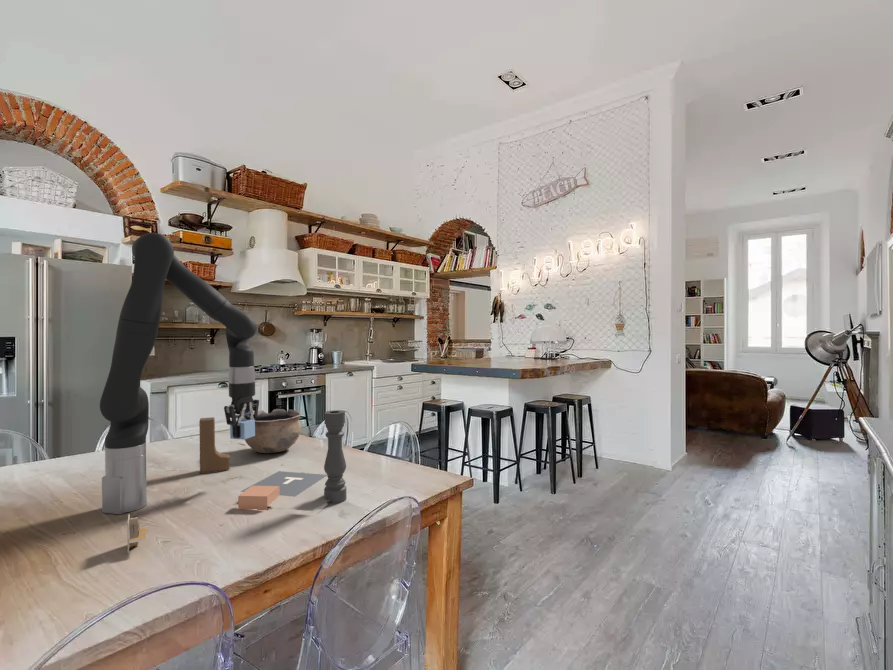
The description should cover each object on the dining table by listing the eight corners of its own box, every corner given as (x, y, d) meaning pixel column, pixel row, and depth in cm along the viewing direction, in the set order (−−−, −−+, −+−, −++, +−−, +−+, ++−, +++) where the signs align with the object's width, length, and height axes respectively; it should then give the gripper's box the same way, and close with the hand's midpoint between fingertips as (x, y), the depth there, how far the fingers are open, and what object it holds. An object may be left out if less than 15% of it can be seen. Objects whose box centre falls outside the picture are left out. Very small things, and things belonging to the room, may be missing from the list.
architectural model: (147, 542, 108) (146, 510, 108) (146, 555, 102) (146, 521, 102) (129, 546, 106) (128, 513, 106) (127, 559, 100) (127, 524, 100)
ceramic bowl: (302, 443, 198) (302, 407, 198) (300, 456, 177) (300, 417, 177) (246, 446, 192) (246, 410, 192) (237, 461, 171) (237, 420, 171)
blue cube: (244, 439, 142) (244, 423, 142) (230, 438, 143) (230, 422, 143) (255, 435, 147) (254, 419, 146) (241, 434, 148) (241, 419, 148)
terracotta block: (267, 511, 125) (267, 496, 125) (238, 510, 126) (238, 495, 126) (279, 500, 133) (279, 486, 133) (252, 499, 134) (252, 485, 134)
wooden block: (229, 466, 164) (228, 415, 164) (229, 470, 160) (228, 418, 160) (200, 470, 161) (200, 418, 160) (200, 473, 157) (199, 420, 156)
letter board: (294, 500, 132) (294, 496, 132) (239, 495, 137) (239, 491, 137) (328, 477, 152) (328, 474, 152) (279, 474, 156) (279, 470, 156)
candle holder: (324, 504, 129) (323, 414, 129) (324, 496, 135) (323, 410, 135) (347, 502, 131) (346, 413, 130) (345, 494, 137) (345, 409, 136)
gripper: (237, 384, 137) (238, 441, 137) (266, 378, 151) (267, 431, 151) (215, 383, 138) (216, 440, 139) (246, 378, 152) (247, 430, 153)
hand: (242, 435), depth 145 cm, fingers closed on blue cube, 5 cm apart
